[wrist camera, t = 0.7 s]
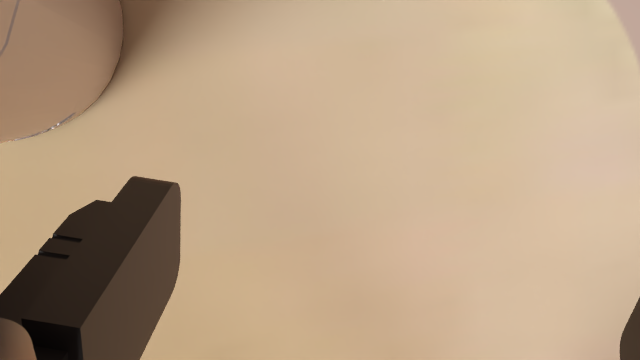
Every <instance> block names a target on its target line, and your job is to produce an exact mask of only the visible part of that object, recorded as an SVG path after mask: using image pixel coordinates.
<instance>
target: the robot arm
mask: <svg viewBox="0 0 640 360" xmlns="http://www.w3.org/2000/svg"><path fill="white" fill-rule="evenodd" d="M122 41H123V15H122V8H121V4H120V0H0V143H3V142H8V141H13V140H14V141H15V140H20V139H24V138H28V137H32V136H36V135H38V134H41V133H44V132H47V131H49V130H51V129H54V128H58V127H60V126H62V125H63V124H65V123H67V122H69V121H70V120H72V119H74V118H76V117H77V116H79V115H80V114H81V113H83V112H84V111H85V110H86V109H87V108H88V107H89V106H90V105H91V104H93V103H94V102H95V101H96V100H97V99H98V97H99V96H100V95H101V93H102V92H103V90H104V89H105V87H106V86H107V85H108V83H109V82H110V80H111V78H112V76H113V73H114V71H115V68H116V66H117V63H118V61H119V59H120V53H121V47H122ZM180 211H181V193H180V187H179V185H178V183H174V182H168V181H162V180H155V179H149V178H143V177H137V176H133V177H131V178H130V179H129V180H128V182H127V183H126V184H125V186H124V187H123V188H122V189H121V191H120V192H119V193H118V195H117V196H116V197H115V198H114V200H113V201H112V202H106V201H100V200H96V201H94V202H92V203H90V204H88V205H86V206H85V207H83V208H81V209H79V210H77V211H76V212H74V213H72V214H70V215H69V216H68V217H67V219H66V220H65V221H64V222H63V223H62V224H61V225H60V227H59V228H58V229H57V230H56V231H55V232H54V234H53V237H52V238H49V239H48V240H47V242H46V243H45V244H44V245H43V246H42V247H41V248H40V250H39V253H38V255H34V257H33V258H32V259H31V260H30V261H29V262H28V263H27V265H26V266H25V267H24V268H23V269H22V270H21V272H20V273H19V274H18V275H17V276H16V277H15V278H14V280H13V281H12V282H11V283H10V284H9V285H8V287H7V288H6V289H5V290H4V291H3V292H2V293H1V295H0V360H140V358H141V356H142V354H143V352H144V350H145V348H146V345H147V343H148V341H149V339H150V337H151V335H152V333H153V331H154V329H155V327H156V325H157V323H158V321H159V319H160V317H161V315H162V313H163V311H164V309H165V307H166V305H167V303H168V301H169V298H170V296H171V294H172V292H173V290H174V287H175V284H176V280H177V276H178V271H179V264H180ZM620 360H640V298H639V300H638V302H637V304H636V306H635V308H634V310H633V312H632V314H631V316H630V318H629V320H628V322H627V324H626V326H625V328H624V331H623V333H622V337H621V341H620Z"/></svg>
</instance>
